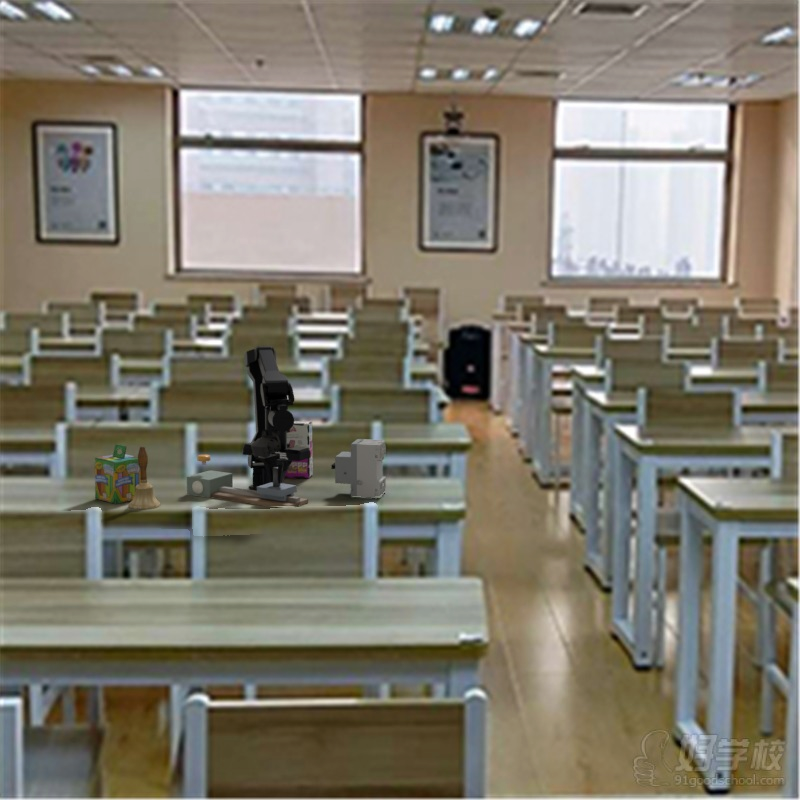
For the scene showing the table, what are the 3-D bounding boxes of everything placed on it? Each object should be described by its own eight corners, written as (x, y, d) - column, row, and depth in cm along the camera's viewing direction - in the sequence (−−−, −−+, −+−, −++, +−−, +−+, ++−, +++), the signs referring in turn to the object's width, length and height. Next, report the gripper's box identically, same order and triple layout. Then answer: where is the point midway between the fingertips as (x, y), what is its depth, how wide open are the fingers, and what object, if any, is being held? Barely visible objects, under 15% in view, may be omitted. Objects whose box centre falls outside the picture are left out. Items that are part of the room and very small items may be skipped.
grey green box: (210, 487, 332) (210, 470, 331) (232, 490, 328) (232, 473, 328) (186, 494, 323) (185, 476, 323) (208, 498, 319) (208, 480, 319)
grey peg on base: (272, 493, 319) (272, 463, 318) (296, 497, 315) (296, 467, 314) (256, 498, 313) (256, 468, 312) (281, 502, 309) (281, 471, 308)
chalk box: (94, 499, 317) (92, 445, 315) (122, 493, 324) (120, 441, 322) (115, 504, 311) (113, 450, 309) (143, 498, 318) (142, 445, 316)
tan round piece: (203, 462, 328) (202, 454, 328) (213, 463, 326) (213, 455, 326) (194, 464, 325) (194, 456, 325) (204, 466, 323) (204, 457, 323)
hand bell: (152, 510, 306) (151, 450, 303) (123, 508, 307) (121, 448, 305) (165, 502, 314) (164, 444, 311) (136, 501, 315) (134, 443, 313)
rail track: (231, 491, 328) (231, 483, 327) (308, 502, 315) (308, 494, 315) (210, 497, 320) (210, 489, 320) (288, 509, 307) (288, 501, 307)
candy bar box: (313, 475, 350) (313, 421, 347) (309, 478, 345) (309, 423, 343) (276, 473, 351) (276, 419, 349) (272, 477, 346) (272, 422, 344)
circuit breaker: (336, 490, 330) (336, 437, 328) (385, 492, 327) (385, 440, 325) (329, 496, 323) (329, 442, 321) (379, 498, 320) (379, 445, 318)
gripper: (229, 426, 309) (230, 484, 311) (287, 433, 300) (287, 492, 302) (254, 420, 319) (255, 476, 321) (311, 426, 310) (311, 484, 312)
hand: (276, 482), depth 314 cm, fingers closed on grey peg on base, 2 cm apart
